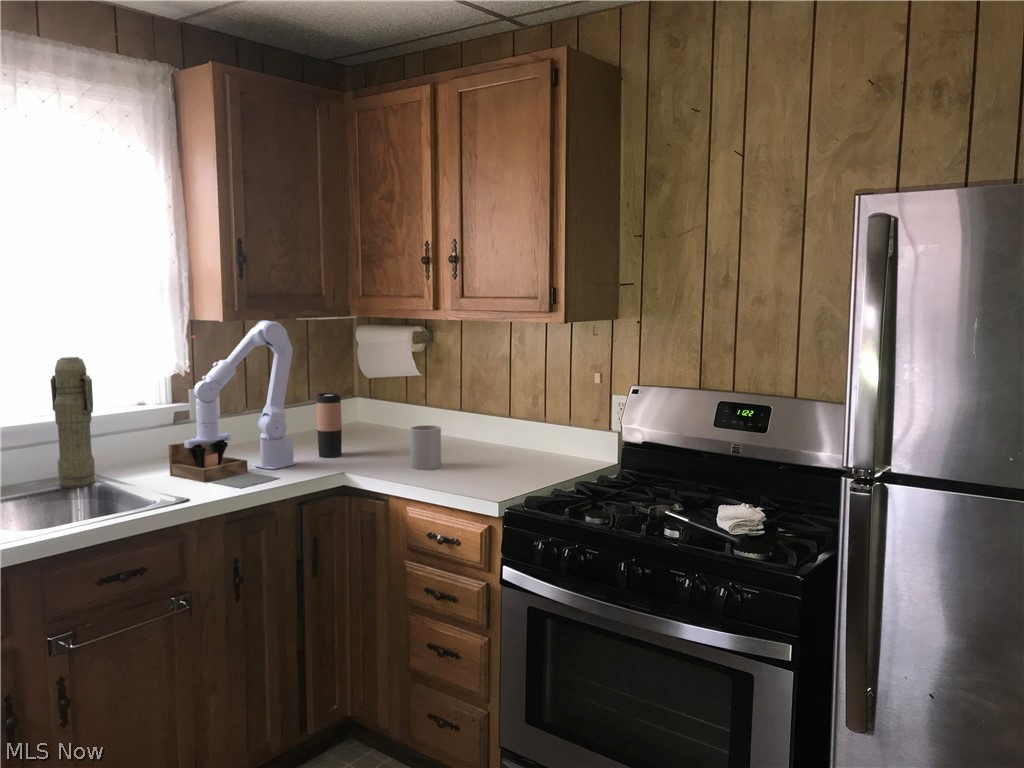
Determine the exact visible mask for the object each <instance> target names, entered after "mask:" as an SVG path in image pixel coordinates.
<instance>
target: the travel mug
mask: <svg viewBox="0 0 1024 768" xmlns="http://www.w3.org/2000/svg"><path fill="white" fill-rule="evenodd" d="M341 395H342V394H341V393H338V392H323V393H322V392H321V393H318V394H316V423H317V424H316V425H317V426H316V429H317V430H316V431H317V446H318V457H319V458H323V459H335V458H338V457H341V456H342V444H343V443H342V438H343V437H342V436H343V433H342V428H343V427H342V397H341Z"/></svg>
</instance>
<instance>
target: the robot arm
mask: <svg viewBox="0 0 1024 768" xmlns="http://www.w3.org/2000/svg"><path fill="white" fill-rule="evenodd" d="M264 345H267V347H268V348H270V350H271V351H272V352H273V358H272V359H273V361H272V365H271V366H272V367H271V372H270V378H269V385H268V391H267V397H266V404H265V406H264V408H263V409H262V413H261V415H260V417H259V419H258V421H257V429H258V430H259V431H260V432H261V433H260V436H259V443H260V444H259V445H260V446H259V447H260V448H259V449H260V463H259V464H255V465H254V467H255V468H258V469H259V468H260V469H266V470H270V471H271V470H277V469H282V468H285V467H291V466H293V465H296V462H294V443H293V440H292V438H291V437H290V436H289V435H285V434H286V432H287V427H288V426H287V423H286V412H285V402H286V395H287V388H288V383H289V377H290V371H291V363H292V359H293V358H292V357H293V346H292V344H291V342H290V339H289V336H288V331H287V329H286V328H285V327H284V326H283V325H282V324H281V323H280V322H279V321H276V320H274V321H273V320H271V321H269V320H267V319H266V320H265V319H263V320H260V321H258V322H257V323H256V324H255V325H254V327H252V328H251V329H250V330H249V331H248V333H247V334H246V335H245V336H244V338H242V339H241V341H240V342H239V344H237V346H236V347H235V348H234V349H233V351H232V352H231V353H230V355H228V357H227V358H226V359H220V360H219V361H217V362H216V361H215V362H214V363H213V364H212V366H213V367H212V368H211V369H210V371H208V372H207V373H206V375H203V376H202V377H201V379H202V380H200V381H198V382H197V383H196V384H195V385H194V387H193V388H194V389H192V394H193V396H194V397H195V398H196V399H195V405H196V406H195V412H196V413H195V417H196V419H195V420H196V437H194V438H190V439H187V440H184V441H183V442H184V447H185V448H188V450H189V451H190V453H191V454H192V456H193V458H194V461H195V463H196V466H197V467H198V468H204V456H205V451H206V448H203V447H202V446H201V445H205V444H210V445H211V448H212V451H214V452H217V453H218V466H219V465H221V461H222V457H223V456H224V454H225V452H226V449H227V447H228V446H229V443H228V442H227V441H231V433H227V432H225V433H219V429H218V428H219V425H218V406H217V398H219V395H220V390H222V389H223V388H224V387H225V386H226V384H227V383H228V382H229V381H230V380H231V379H232V378H233V377H234V376H235V374H236V366H238V365H239V364H240V362H242V360H244V358H246V356H247V355H248V354H249V353H250V352H251V351H252V350H253V349H254V348H256V347H260V346H264Z"/></svg>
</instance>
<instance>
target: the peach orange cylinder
mask: <svg viewBox="0 0 1024 768" xmlns="http://www.w3.org/2000/svg"><path fill="white" fill-rule="evenodd" d="M214 466H218V453H217V452H214V451H208V452H205V456H204V469H205V468H210V467H214Z"/></svg>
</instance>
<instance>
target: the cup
mask: <svg viewBox="0 0 1024 768" xmlns="http://www.w3.org/2000/svg"><path fill="white" fill-rule="evenodd" d="M409 429H410V438H409V439H410V469H413V470H416V469H417V471H419V470H420V471H432V470H438V469H441V467H442V452H441V450H442V439H441V436H442V435H441V434H442V429H441V426H438V425H429V424H427V425H421V424H420V425H414V426H413V425H412V426H411V427H410V428H409Z"/></svg>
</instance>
